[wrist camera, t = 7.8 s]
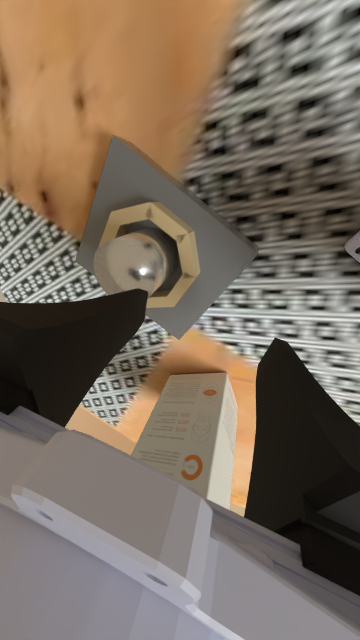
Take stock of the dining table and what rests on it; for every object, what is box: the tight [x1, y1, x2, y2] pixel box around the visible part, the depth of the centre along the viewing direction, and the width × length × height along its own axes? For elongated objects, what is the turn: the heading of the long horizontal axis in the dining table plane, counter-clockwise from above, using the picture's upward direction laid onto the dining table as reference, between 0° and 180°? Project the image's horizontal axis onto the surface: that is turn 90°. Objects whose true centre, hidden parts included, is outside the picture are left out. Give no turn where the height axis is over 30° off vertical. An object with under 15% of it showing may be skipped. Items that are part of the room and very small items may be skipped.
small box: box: [131, 372, 238, 510], centre depth 22 cm, size 8×6×13 cm
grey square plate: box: [76, 135, 258, 340], centre depth 18 cm, size 13×11×4 cm
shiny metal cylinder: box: [94, 227, 178, 299], centre depth 16 cm, size 4×4×5 cm
